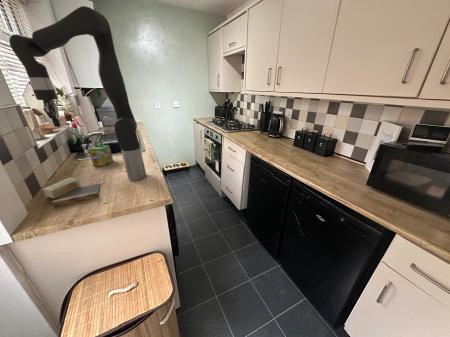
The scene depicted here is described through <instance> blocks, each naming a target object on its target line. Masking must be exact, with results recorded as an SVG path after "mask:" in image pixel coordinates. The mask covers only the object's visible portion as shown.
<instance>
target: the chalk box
mask: <svg viewBox="0 0 450 337" xmlns="http://www.w3.org/2000/svg"><path fill="white" fill-rule="evenodd" d="M93 144H94V146H92V147H90V148H88V152H89V156H90V158H91V159H90V160H91V163H92V166H93V167H98V166H99V167H100V166H101V167H102V166H109V165H110V164H111V163H112V162H113V161H114V159H113V155H112V151H111V148H110V145H109V144H104V142H103V141H94V143H93Z"/></svg>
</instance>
